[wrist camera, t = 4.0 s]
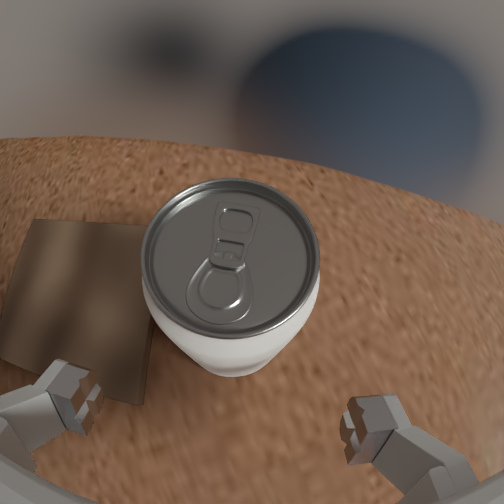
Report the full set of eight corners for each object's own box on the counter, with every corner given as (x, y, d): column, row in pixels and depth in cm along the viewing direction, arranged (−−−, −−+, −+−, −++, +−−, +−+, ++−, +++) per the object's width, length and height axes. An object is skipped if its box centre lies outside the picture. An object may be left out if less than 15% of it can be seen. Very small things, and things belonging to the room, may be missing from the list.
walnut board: (1, 357, 16) (-7, 354, 15) (39, 225, 22) (33, 218, 21) (143, 404, 17) (137, 405, 16) (171, 235, 23) (168, 227, 22)
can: (176, 366, 18) (100, 324, 7) (196, 279, 21) (164, 159, 10) (272, 384, 18) (325, 369, 7) (284, 295, 21) (334, 185, 10)
